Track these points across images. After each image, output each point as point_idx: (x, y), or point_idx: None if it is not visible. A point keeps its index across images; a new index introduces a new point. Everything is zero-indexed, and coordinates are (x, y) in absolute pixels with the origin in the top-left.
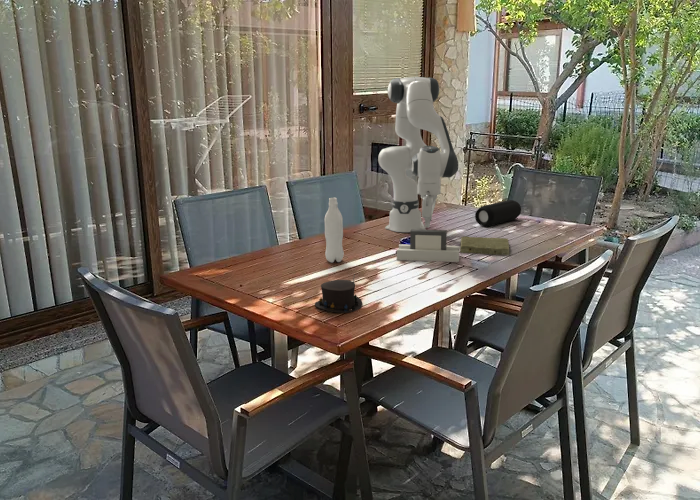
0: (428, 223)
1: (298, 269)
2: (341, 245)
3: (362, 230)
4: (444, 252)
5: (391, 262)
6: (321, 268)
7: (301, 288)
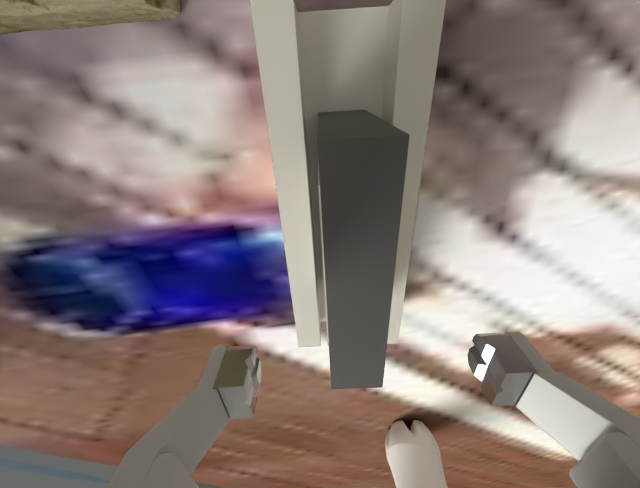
0: (545, 374)
1: (474, 458)
2: (430, 474)
3: (59, 430)
4: (427, 119)
5: (421, 320)
6: (472, 434)
7: None
